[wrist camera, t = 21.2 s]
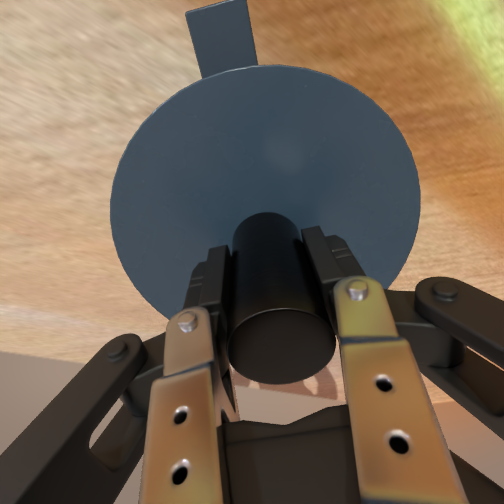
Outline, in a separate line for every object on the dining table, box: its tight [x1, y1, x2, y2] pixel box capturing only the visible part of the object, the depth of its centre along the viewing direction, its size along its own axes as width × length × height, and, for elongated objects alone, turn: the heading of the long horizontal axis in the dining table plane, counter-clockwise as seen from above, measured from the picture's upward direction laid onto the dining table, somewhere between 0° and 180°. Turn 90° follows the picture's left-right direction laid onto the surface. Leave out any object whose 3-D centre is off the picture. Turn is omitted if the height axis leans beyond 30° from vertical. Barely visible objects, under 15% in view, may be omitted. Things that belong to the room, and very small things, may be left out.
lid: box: [110, 65, 420, 385], centre depth 11 cm, size 13×13×7 cm
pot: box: [185, 0, 258, 79], centre depth 18 cm, size 12×18×8 cm
